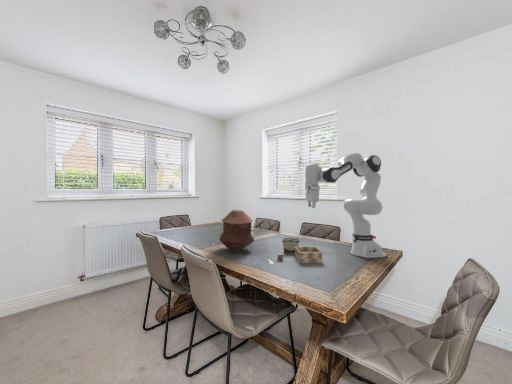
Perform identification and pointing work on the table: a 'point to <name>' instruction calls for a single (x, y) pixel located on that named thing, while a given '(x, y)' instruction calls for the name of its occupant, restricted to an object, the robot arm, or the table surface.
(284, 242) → the food container
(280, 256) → the lid
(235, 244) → the pottery vessel
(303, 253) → the box
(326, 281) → the table surface
